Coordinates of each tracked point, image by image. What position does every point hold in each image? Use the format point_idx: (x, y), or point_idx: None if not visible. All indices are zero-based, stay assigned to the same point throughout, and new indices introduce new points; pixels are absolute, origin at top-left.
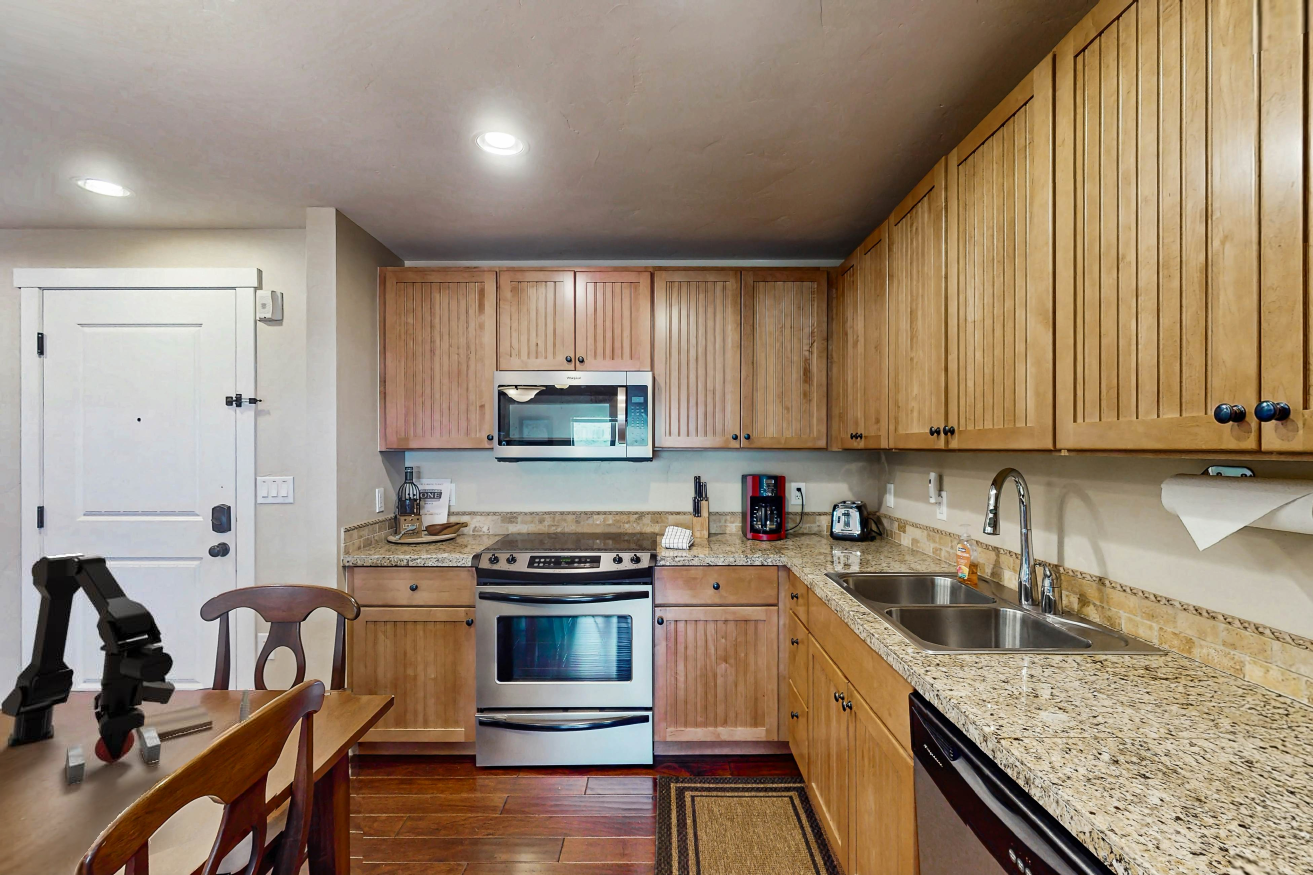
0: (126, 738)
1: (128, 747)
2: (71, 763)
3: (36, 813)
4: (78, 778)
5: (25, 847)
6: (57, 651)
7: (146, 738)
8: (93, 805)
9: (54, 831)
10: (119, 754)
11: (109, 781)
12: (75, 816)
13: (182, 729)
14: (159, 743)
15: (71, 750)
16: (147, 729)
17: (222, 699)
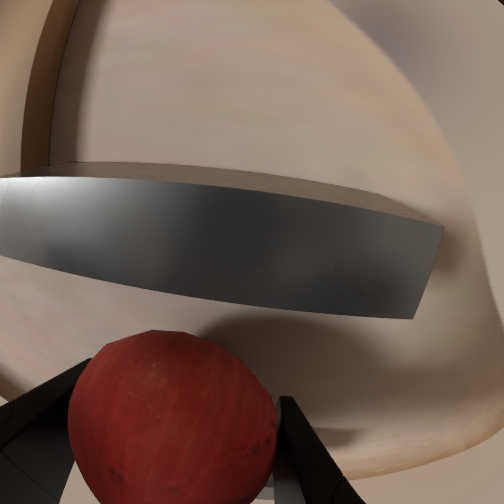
0: (359, 497)
1: (256, 388)
2: (270, 497)
3: (386, 462)
4: None
5: (472, 442)
6: None
7: (188, 284)
8: (470, 398)
9: (476, 427)
10: (302, 413)
11: (387, 381)
12: (471, 415)
13: (52, 24)
14: (432, 234)
15: None
16: (4, 222)
17: None
